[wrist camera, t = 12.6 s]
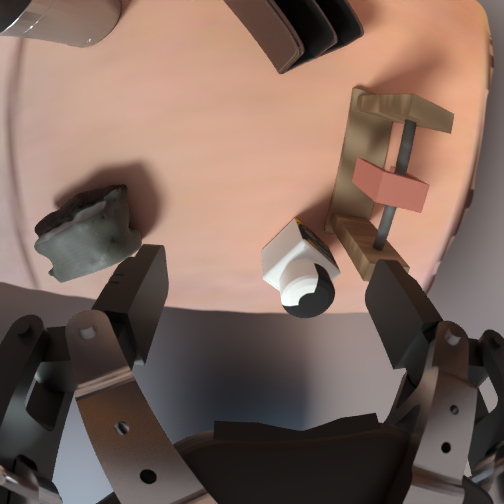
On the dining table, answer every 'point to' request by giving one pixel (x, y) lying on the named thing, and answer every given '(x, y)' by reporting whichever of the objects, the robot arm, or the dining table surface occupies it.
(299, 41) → the letter holder
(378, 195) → the pink u-shaped bracket
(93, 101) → the dining table surface
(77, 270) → the rock
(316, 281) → the medicine bottle
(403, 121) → the rail stand
